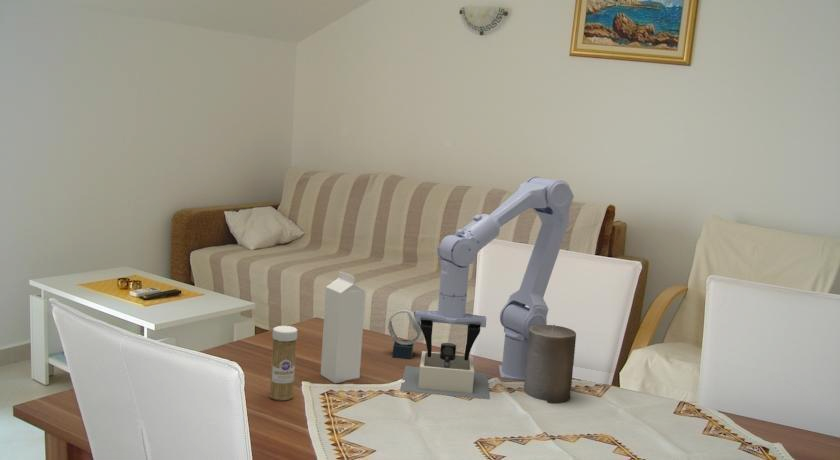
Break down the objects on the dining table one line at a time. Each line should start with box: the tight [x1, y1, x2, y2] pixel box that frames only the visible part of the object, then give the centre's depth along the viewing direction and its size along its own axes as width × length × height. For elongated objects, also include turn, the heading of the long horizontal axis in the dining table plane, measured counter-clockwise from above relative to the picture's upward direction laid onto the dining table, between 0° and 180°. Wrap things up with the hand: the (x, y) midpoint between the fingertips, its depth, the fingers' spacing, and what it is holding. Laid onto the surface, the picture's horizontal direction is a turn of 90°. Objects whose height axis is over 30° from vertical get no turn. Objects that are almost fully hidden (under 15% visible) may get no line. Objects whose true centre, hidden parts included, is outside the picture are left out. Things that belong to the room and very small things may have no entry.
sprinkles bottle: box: [269, 325, 298, 401], centre depth 139 cm, size 5×5×14 cm
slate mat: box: [399, 365, 491, 400], centre depth 154 cm, size 18×16×1 cm
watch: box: [387, 308, 422, 360], centre depth 170 cm, size 6×8×11 cm
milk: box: [320, 270, 366, 384], centre depth 152 cm, size 6×6×22 cm
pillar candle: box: [523, 324, 577, 403], centre depth 152 cm, size 10×10×15 cm
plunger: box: [439, 342, 457, 368], centre depth 154 cm, size 9×9×7 cm
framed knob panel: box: [418, 350, 475, 393], centre depth 154 cm, size 11×11×4 cm
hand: (447, 357), depth 154 cm, fingers open, 7 cm apart
